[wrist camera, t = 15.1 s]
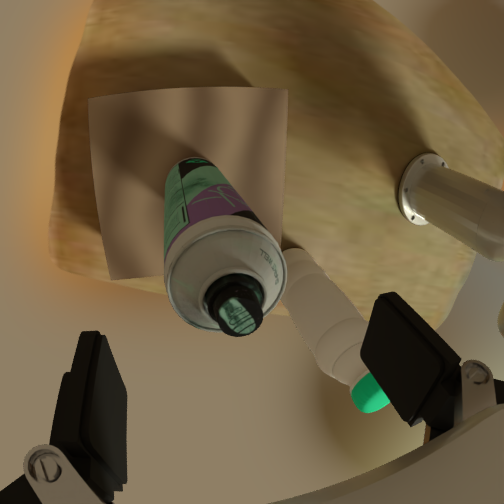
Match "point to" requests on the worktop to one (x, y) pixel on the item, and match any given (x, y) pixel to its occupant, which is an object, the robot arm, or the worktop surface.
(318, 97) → the worktop surface
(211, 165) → the spray can
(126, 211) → the brown wooden block
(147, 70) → the worktop surface
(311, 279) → the water bottle
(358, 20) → the worktop surface
